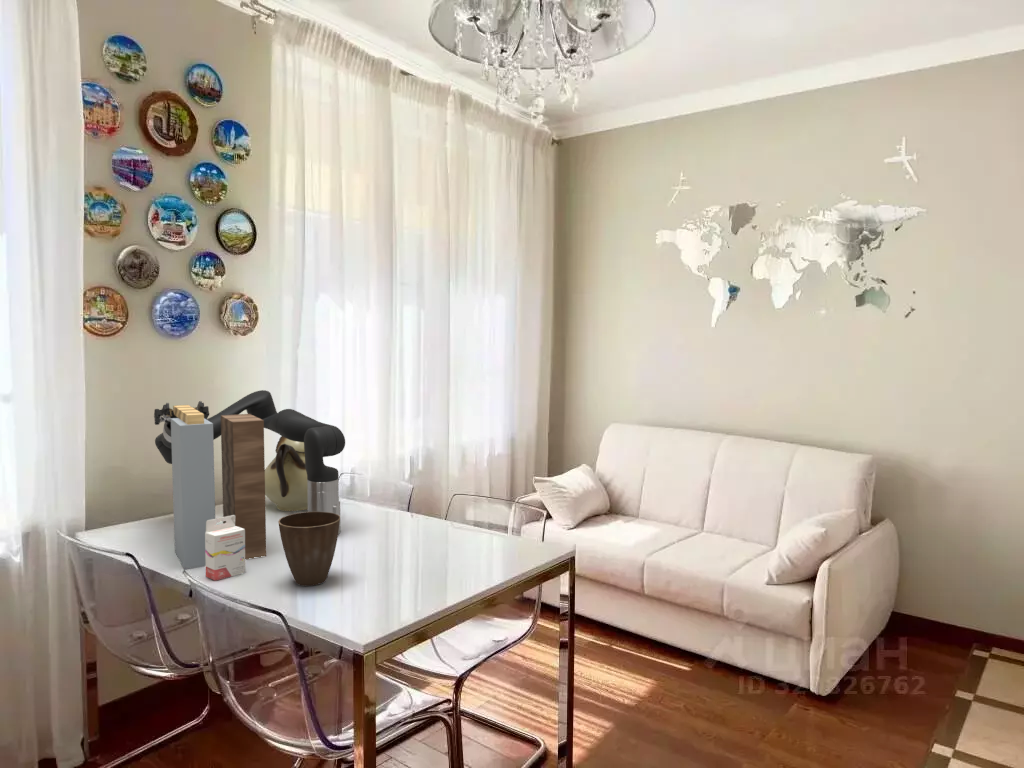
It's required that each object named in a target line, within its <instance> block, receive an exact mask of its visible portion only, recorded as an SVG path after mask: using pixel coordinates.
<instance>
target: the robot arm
mask: <svg viewBox="0 0 1024 768" xmlns="http://www.w3.org/2000/svg"><path fill="white" fill-rule="evenodd" d="M192 407H193V408H194V409H196V410H198V411H199V412H201V413H203V414H204V418H205V419H206V420H208V421H210V422H211V423H213V441H214V440H216V439H218V438H219V437H221V415H238V414H242V413H243V412H244V411H246V414H251V415H253V416H255V417H258V418H260V419H262V420H264V429H267V430H269V431H271V432H274V433H276V434H278V435H279V436H280V437H281V436H283V437H285V438H287V439H289V440H292V441H297V442H304V452H305V467H306V472H307V493H308V509H307V512H330V513H335V514H337V515H339V516H340V517H341V501H339V500H340V498H339V497H340V495H339V493H340V491H339V482H340V481H339V478H340V477H339V470H338V468H335V467H332V466H327V465H326V464H325V462H324V458H326V457H327V458H328V457H333V456H337V455H339V454H341V453H342V452H343V450H345V446H346V439H345V435H344V433H343V431H342V430H341V429H340V428H339V427H337V426H335V425H333V424H327V423H324V422H320V421H318V420H317V419H314V418H312V417H310V416H308V415H305V414H303V413H302V412H299V411H297V410H295V409H291V408H285V409H283V410H280V411H277V408H276V405H275V401H274V399H273V396H272V394H271V392H270V391H268V390H264V389H262V390H257V391H253V392H251V393H249V394H247V395H245V396H243V397H242V398H241V399H238V400H237V401H235V402H234V403H232V404H231V405H229V406H227V407H226V408H224V409H223V410H221V411H219V412H218V413H216V414H214V415H212V416H211V417H209V416H210V411H209V406H208V405H206V406H205V403H204V402H203V401H201V400H200V401H198V403H197V406H195V407H194V406H192ZM208 417H209V418H208ZM171 418H178V417H176V416H175V415H174V412H173V408H171V407H170V403H169V402H166V403H165V404H163V405H162V407H161V409H159V408H155V409H154V414H153V419H154V425H156V426H158V425H160V423H163V427H162V433H160V434H159V435H157V436H156V437H155V439H154V443H155V446H156V449H158V451H159V453H160V455H161V456H162V458H163V459H164V460H165V462H166V463H167V464H168V465H172V444H171ZM341 523H342V522H341V520H340V523H339V531H338V536H339V534H340V533H341V528H342V527H341Z"/></svg>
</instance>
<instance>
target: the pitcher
mask: <svg viewBox="0 0 1024 768" xmlns="http://www.w3.org/2000/svg"><path fill="white" fill-rule="evenodd" d="M275 447H276V448H275V453H276V455H275V457H274V458H273V459H272V461H270V463H269V464H268V465H266V466H267V467H266V468H265V497H267V498H268V500H269V501H271V503H273V504H274V505H276V509H277V510H279V511H283V512H301V511H308V493H307V472H306V467H305V452H304V442H297V441H292V440H289V439H287V438H285V437H283V436H281V435H280V437H279V439H278V441H277V444H276V446H275Z"/></svg>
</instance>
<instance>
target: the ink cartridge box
mask: <svg viewBox="0 0 1024 768" xmlns="http://www.w3.org/2000/svg"><path fill="white" fill-rule="evenodd" d="M223 521H226V523H224V524H223V523H220V522H223ZM217 523H220V524H217ZM205 560H206V566H205V577H206V578H208V579H211V580H212V581H214V582H215V581H220V580H224V579H228V578H230V577H234V576H238V575H242V573H243V574H246V560H245V529H243V528H240V527H237V526H235V515H231V516H226V517H223V516H222V517H217V518H216V517H215V519H212V520H207V521H206V532H205Z"/></svg>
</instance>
